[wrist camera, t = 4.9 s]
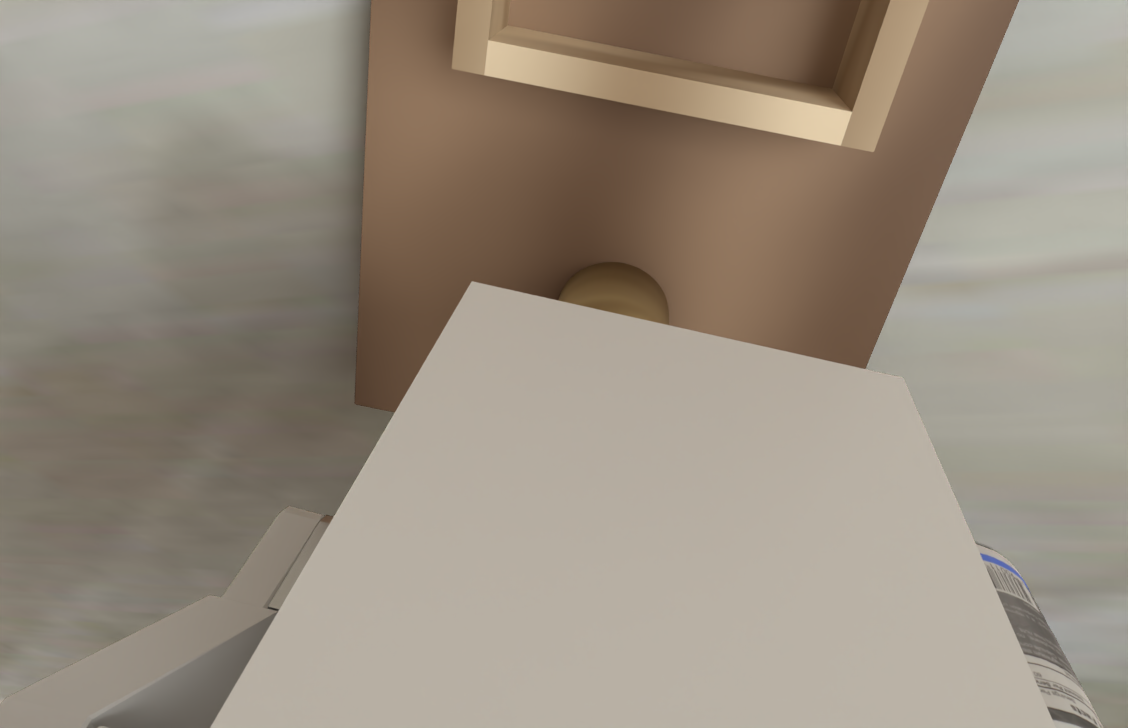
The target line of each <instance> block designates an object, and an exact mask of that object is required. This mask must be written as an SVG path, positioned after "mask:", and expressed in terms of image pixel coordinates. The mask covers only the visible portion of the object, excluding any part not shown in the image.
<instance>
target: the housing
mask: <svg viewBox="0 0 1128 728" xmlns="http://www.w3.org/2000/svg"><path fill="white" fill-rule="evenodd" d="M210 728H1056V727H1055V724H1054V722H1053V720H1052V718H1051V715H1050V713H1049V711H1048V708H1047V706H1046V704H1045V701H1044V699H1043V697H1042V695H1041V692H1040V690H1039V688H1038V685H1037V683H1036V681H1035V679H1034V676H1033V674H1032V672H1031V669H1030V667H1029V665H1028V662H1027V660H1026V658H1025V656H1024V653H1023V651H1022V649H1021V646H1020V644H1019V642H1018V640H1017V637H1016V635H1015V633H1014V630H1013V628H1012V626H1011V624H1010V621H1009V619H1008V617H1007V614H1006V612H1005V610H1004V607H1003V605H1002V603H1001V601H1000V598H999V596H998V594H997V591H996V589H995V587H994V585H993V582H992V580H991V578H990V575H989V573H988V571H987V569H986V566H985V564H984V562H983V559H982V557H981V555H980V552H979V550H978V548H977V546H976V543H975V541H974V539H973V536H972V534H971V532H970V530H969V527H968V525H967V523H966V520H965V518H964V516H963V513H962V511H961V509H960V507H959V504H958V502H957V500H956V497H955V495H954V493H953V491H952V488H951V486H950V484H949V481H948V479H947V477H946V475H945V472H944V470H943V468H942V465H941V463H940V461H939V458H938V456H937V454H936V452H935V449H934V447H933V445H932V442H931V440H930V438H929V436H928V433H927V431H926V429H925V426H924V424H923V422H922V419H921V417H920V415H919V413H918V410H917V408H916V406H915V403H914V401H913V399H912V397H911V394H910V392H909V390H908V387H907V385H906V383H905V381H904V378H903V377H898V376H894V375H889V374H885V373H880V372H876V371H871V370H867V369H862V368H858V367H854V366H849V365H845V364H840V363H836V362H831V361H827V360H822V359H818V358H813V357H809V356H804V355H800V354H795V353H791V352H786V351H782V350H777V349H773V348H768V347H764V346H760V345H755V344H751V343H746V342H742V341H737V340H733V339H728V338H724V337H719V336H715V335H710V334H706V333H701V332H697V331H692V330H688V329H683V328H679V327H675V326H670V325H666V324H661V323H657V322H652V321H648V320H643V319H639V318H634V317H630V316H625V315H621V314H616V313H612V312H607V311H603V310H598V309H594V308H589V307H585V306H581V305H576V304H572V303H567V302H563V301H558V300H554V299H549V298H545V297H540V296H536V295H531V294H527V293H522V292H518V291H513V290H509V289H504V288H500V287H496V286H491V285H487V284H482V283H478V282H473V281H472V282H471V283H470V285H469V287H468V289H467V290H466V292H465V294H464V295H463V297H462V299H461V301H460V302H459V304H458V306H457V307H456V309H455V311H454V312H453V314H452V316H451V318H450V319H449V321H448V323H447V324H446V326H445V328H444V330H443V331H442V333H441V335H440V336H439V338H438V340H437V341H436V343H435V345H434V347H433V348H432V350H431V352H430V353H429V355H428V357H427V359H426V360H425V362H424V364H423V365H422V367H421V369H420V370H419V372H418V374H417V376H416V377H415V379H414V381H413V382H412V384H411V386H410V388H409V389H408V391H407V393H406V394H405V396H404V398H403V400H402V401H401V403H400V405H399V406H398V408H397V410H396V411H395V413H394V415H393V417H392V418H391V420H390V422H389V423H388V425H387V427H386V429H385V430H384V432H383V434H382V435H381V437H380V439H379V440H378V442H377V444H376V446H375V447H374V449H373V451H372V452H371V454H370V456H369V458H368V459H367V461H366V463H365V464H364V466H363V468H362V469H361V471H360V473H359V475H358V476H357V478H356V480H355V481H354V483H353V485H352V487H351V488H350V490H349V492H348V493H347V495H346V497H345V498H344V500H343V502H342V504H341V505H340V507H339V509H338V510H337V512H336V514H335V516H334V517H333V519H332V521H331V522H330V524H329V526H328V527H327V529H326V531H325V533H324V534H323V536H322V538H321V539H320V541H319V543H318V545H317V546H316V548H315V550H314V551H313V553H312V555H311V556H310V558H309V560H308V562H307V563H306V565H305V567H304V568H303V570H302V572H301V574H300V575H299V577H298V579H297V580H296V582H295V584H294V585H293V587H292V589H291V591H290V592H289V594H288V596H287V597H286V599H285V601H284V603H283V604H282V606H281V608H280V609H279V611H278V613H277V614H276V616H275V618H274V620H273V621H272V623H271V625H270V626H269V628H268V630H267V632H266V633H265V635H264V637H263V638H262V640H261V642H260V643H259V645H258V647H257V649H256V650H255V652H254V654H253V655H252V657H251V659H250V661H249V662H248V664H247V666H246V667H245V669H244V671H243V672H242V674H241V676H240V678H239V679H238V681H237V683H236V684H235V686H234V688H233V690H232V691H231V693H230V695H229V696H228V698H227V700H226V701H225V703H224V705H223V707H222V708H221V710H220V712H219V713H218V715H217V717H216V719H215V720H214V722H213V724H212V725H211V727H210Z"/></svg>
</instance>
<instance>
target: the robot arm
mask: <svg viewBox="0 0 1128 728" xmlns="http://www.w3.org/2000/svg"><path fill="white" fill-rule="evenodd" d="M332 519H333V516H329V515H326V516H325V515H322V514H318V513H314V512H310V511H306V510H303V509H299V508H295V507H291V506H288V507H287V508H285V509H284V510H283V511H281V512H280V513H279V514H278V515H277V517H276V518H275V520H274V521H273V523H272V524H271V525H270V527H269V528H268V530H267V531H266V533H265V534H264V536H263V537H262V539H261V540H260V542H259V543H258V544H257V546H256V547H255V549H254V550H253V552H252V553H251V555H250V556H249V558H248V559H247V560H246V562H245V563H244V565H243V566H242V568H241V569H240V571H239V572H238V574H237V575H236V577H235V578H234V579H233V581H232V582H231V584H230V585H229V587H228V588H227V590H226V591H225V593H224V594H223V596H222V597H217V596H213V595H208V596H206V597H204V598H202V599H200V600H198V601H196V602H194V603H192V604H191V605H189V606H187V607H185V608H183V609H181V610H179V611H177V612H175V613H173V614H171V615H169V616H167V617H165V618H163V619H161V620H159V621H157V622H155V623H153V624H151V625H149V626H147V627H145V628H143V629H141V630H139V631H137V632H135V633H133V634H131V635H129V636H127V637H125V638H123V639H121V640H119V641H117V642H115V643H113V644H111V645H109V646H107V647H105V648H103V649H101V650H99V651H97V652H95V653H93V654H91V655H89V656H87V657H85V658H83V659H81V660H80V661H78V662H76V663H74V664H72V665H70V666H68V667H66V668H64V669H62V670H60V671H58V672H56V673H54V674H52V675H50V676H48V677H46V678H44V679H42V680H40V681H38V682H36V683H34V684H32V685H30V686H28V687H26V688H24V689H22V690H20V691H18V692H16V693H14V694H12V695H10V696H8V697H6V698H5V699H4V700H3V701H2V703H1V704H0V728H210V727H211V725H212V724H213V722H214V720H215V719H216V717H217V715H218V713H219V712H220V710H221V708H222V707H223V705H224V703H225V701H226V700H227V698H228V696H229V695H230V693H231V691H232V690H233V688H234V686H235V684H236V683H237V681H238V679H239V678H240V676H241V674H242V672H243V671H244V669H245V667H246V666H247V664H248V662H249V661H250V659H251V657H252V655H253V654H254V652H255V650H256V649H257V647H258V645H259V643H260V642H261V640H262V638H263V637H264V635H265V633H266V632H267V630H268V628H269V626H270V625H271V623H272V621H273V620H274V618H275V616H276V614H277V613H278V611H279V609H280V608H281V606H282V604H283V603H284V601H285V599H286V597H287V596H288V594H289V592H290V591H291V589H292V587H293V585H294V584H295V582H296V580H297V579H298V577H299V575H300V574H301V572H302V570H303V568H304V567H305V565H306V563H307V562H308V560H309V558H310V556H311V555H312V553H313V551H314V550H315V548H316V546H317V545H318V543H319V541H320V539H321V538H322V536H323V534H324V533H325V531H326V529H327V527H328V526H329V524H330V522H331V521H332Z"/></svg>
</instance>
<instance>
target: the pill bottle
mask: <svg viewBox="0 0 1128 728" xmlns="http://www.w3.org/2000/svg"><path fill="white" fill-rule="evenodd" d="M976 546H977V548H978V550H979V552H980V555H981V557H982V559H983V562H984V564H985V566H986V569H987V571H988V573H989V575H990V578H991V580H992V582H993V585H994V587H995V589H996V591H997V594H998V596H999V598H1000V601H1001V603H1002V605H1003V607H1004V610H1005V612H1006V614H1007V617H1008V619H1009V621H1010V624H1011V626H1012V628H1013V630H1014V633H1015V635H1016V637H1017V640H1018V642H1019V644H1020V646H1021V649H1022V651H1023V653H1024V656H1025V658H1026V660H1027V662H1028V665H1029V667H1030V669H1031V672H1032V674H1033V676H1034V679H1035V681H1036V683H1037V685H1038V688H1039V690H1040V692H1041V695H1042V697H1043V699H1044V701H1045V704H1046V706H1047V708H1048V711H1049V713H1050V715H1051V718H1052V720H1053V722H1054V724H1055V727H1056V728H1103V726H1102V724H1101V722H1100V720H1099V718H1098V716H1097V714H1096V713H1095V711H1094V709H1093V707H1092V705H1091V703H1090V701H1089V699H1088V698H1087V696H1086V693H1085V692H1084V690H1083V688H1082V686H1081V684H1080V682H1079V681H1078V679H1077V677H1076V675H1075V673H1074V672H1073V670H1072V668H1071V665H1070V664H1069V662H1068V660H1067V658H1066V657H1065V655H1064V653H1063V651H1062V650H1061V648H1060V646H1059V644H1058V642H1057V640H1056V638H1055V636H1054V634H1053V633H1052V631H1051V629H1050V628H1049V626H1048V624H1047V622H1046V620H1045V618H1044V616H1043V615H1042V613H1041V611H1040V609H1039V607H1038V605H1037V604H1036V602H1035V600H1034V598H1033V596H1032V594H1031V592H1030V590H1029V588H1028V587H1027V585H1026V583H1025V581H1024V580H1023V578H1022V576H1021V575H1020V573H1019V572H1018V571H1017V569H1016V568H1015V567H1014V566H1013V564H1012V563H1010V562H1009V561H1008V560H1007V559H1006V558H1004V557H1003V556H1002V555H1000V554H999V553H997V552H996V551H993V550H991V549H988V548H986V547H983V546H981V545H978V544H976Z"/></svg>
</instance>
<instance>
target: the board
mask: <svg viewBox="0 0 1128 728" xmlns="http://www.w3.org/2000/svg"><path fill="white" fill-rule="evenodd" d="M1018 2H1019V0H371V18H370V42H369V66H368V90H367V115H366V139H365V163H364V187H363V211H362V236H361V260H360V284H359V308H358V332H357V357H356V381H355V404H356V405H361V406H366V407H371V408H376V409H381V410H386V411H391V412H395V411H396V410H397V408H398V406H399V405H400V403H401V401H402V400H403V398H404V396H405V394H406V393H407V391H408V389H409V388H410V386H411V384H412V382H413V381H414V379H415V377H416V376H417V374H418V372H419V370H420V369H421V367H422V365H423V364H424V362H425V360H426V359H427V357H428V355H429V353H430V352H431V350H432V348H433V347H434V345H435V343H436V341H437V340H438V338H439V336H440V335H441V333H442V331H443V330H444V328H445V326H446V324H447V323H448V321H449V319H450V318H451V316H452V314H453V312H454V311H455V309H456V307H457V306H458V304H459V302H460V301H461V299H462V297H463V295H464V294H465V292H466V290H467V289H468V287H469V285H470V283H471V282H472V281H473V282H478V283H482V284H487V285H491V286H496V287H500V288H504V289H509V290H513V291H518V292H522V293H527V294H531V295H536V296H540V297H545V298H549V299H554V300H558V301H563V302H567V303H572V304H576V305H581V306H585V307H589V308H594V309H598V310H603V311H607V312H612V313H616V314H621V315H625V316H630V317H634V318H639V319H643V320H648V321H652V322H657V323H661V324H666V325H670V326H675V327H679V328H683V329H688V330H692V331H697V332H701V333H706V334H710V335H715V336H719V337H724V338H728V339H733V340H737V341H742V342H746V343H751V344H755V345H760V346H764V347H768V348H773V349H777V350H782V351H786V352H791V353H795V354H800V355H804V356H809V357H813V358H818V359H822V360H827V361H831V362H836V363H840V364H845V365H849V366H854V367H858V368H862V369H865V368H866V366H867V363H868V361H869V359H870V356H871V354H872V351H873V349H874V347H875V344H876V342H877V339H878V337H879V335H880V332H881V330H882V327H883V325H884V323H885V320H886V318H887V315H888V313H889V311H890V308H891V306H892V303H893V301H894V299H895V296H896V294H897V291H898V289H899V287H900V284H901V282H902V280H903V277H904V275H905V272H906V270H907V268H908V265H909V263H910V260H911V258H912V256H913V253H914V251H915V248H916V246H917V244H918V241H919V239H920V236H921V234H922V232H923V229H924V227H925V224H926V222H927V220H928V217H929V215H930V212H931V210H932V208H933V205H934V203H935V200H936V198H937V196H938V193H939V191H940V188H941V186H942V184H943V181H944V179H945V176H946V174H947V172H948V169H949V167H950V164H951V162H952V160H953V157H954V155H955V153H956V150H957V148H958V145H959V143H960V141H961V138H962V136H963V133H964V131H965V129H966V126H967V124H968V121H969V119H970V117H971V114H972V112H973V109H974V107H975V105H976V102H977V100H978V97H979V95H980V93H981V90H982V88H983V85H984V83H985V81H986V78H987V76H988V73H989V71H990V69H991V66H992V64H993V61H994V59H995V57H996V54H997V52H998V49H999V47H1000V45H1001V42H1002V40H1003V37H1004V35H1005V33H1006V30H1007V28H1008V26H1009V23H1010V21H1011V18H1012V16H1013V14H1014V11H1015V9H1016V6H1017V4H1018Z"/></svg>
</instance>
